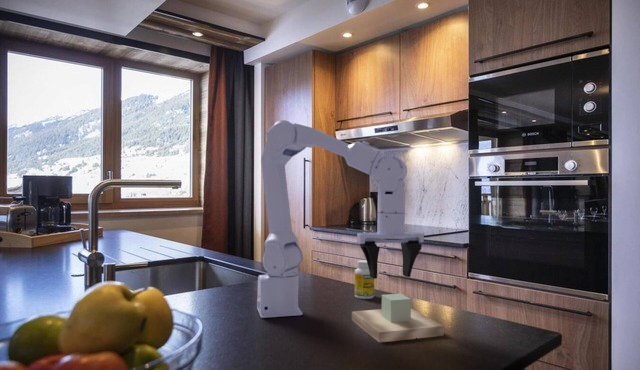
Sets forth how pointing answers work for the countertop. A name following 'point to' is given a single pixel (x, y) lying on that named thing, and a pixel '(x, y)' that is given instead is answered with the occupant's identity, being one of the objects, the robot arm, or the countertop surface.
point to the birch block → (396, 326)
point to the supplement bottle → (363, 281)
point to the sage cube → (396, 308)
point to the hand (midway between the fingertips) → (390, 276)
